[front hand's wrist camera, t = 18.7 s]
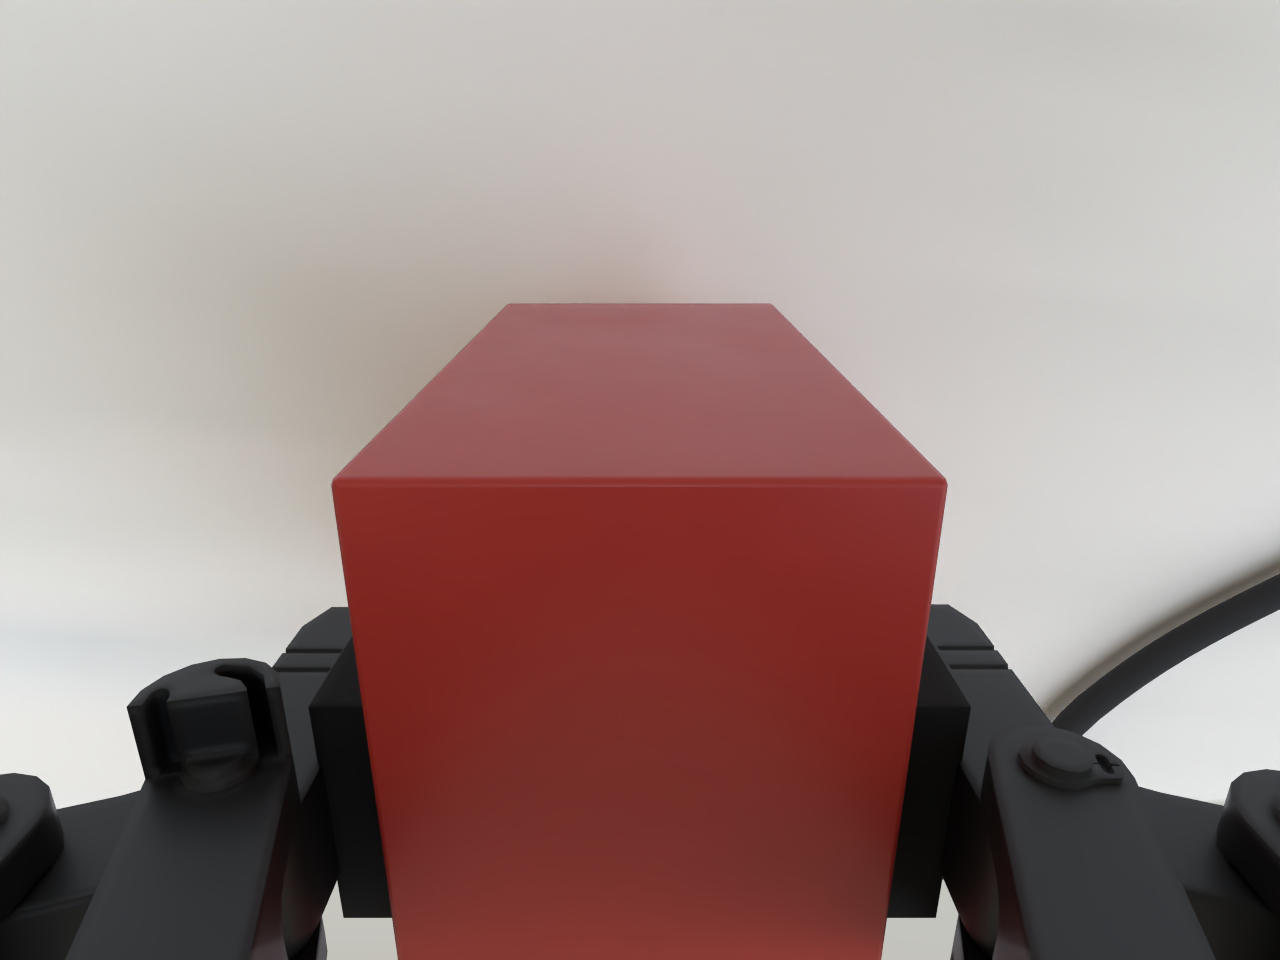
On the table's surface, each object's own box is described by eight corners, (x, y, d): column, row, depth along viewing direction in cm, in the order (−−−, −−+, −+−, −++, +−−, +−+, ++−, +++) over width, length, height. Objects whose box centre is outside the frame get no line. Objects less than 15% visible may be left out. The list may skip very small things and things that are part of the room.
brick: (772, 303, 15) (952, 478, 6) (752, 659, 18) (861, 1124, 9) (506, 303, 15) (325, 480, 6) (526, 659, 18) (417, 1124, 9)
